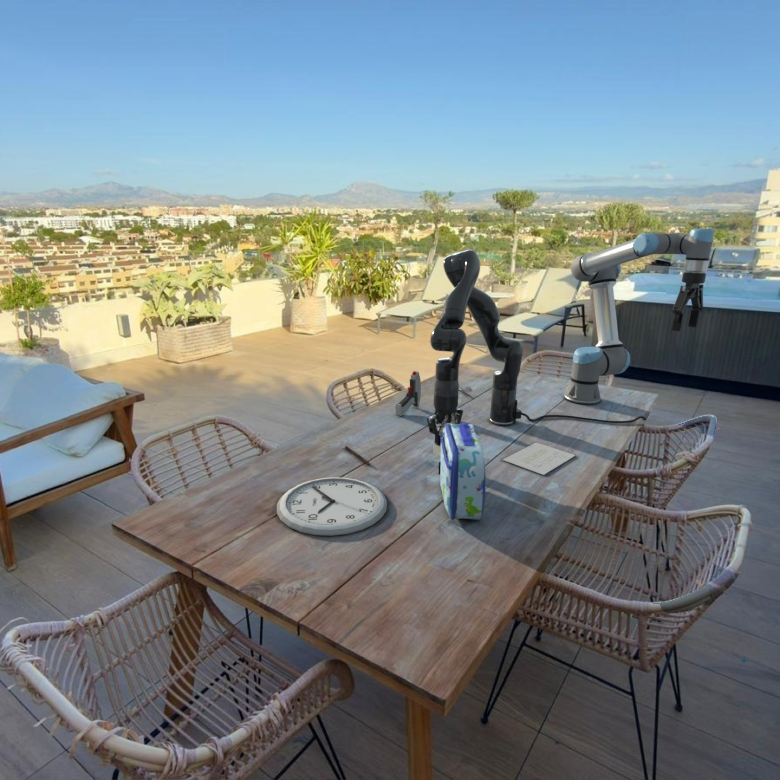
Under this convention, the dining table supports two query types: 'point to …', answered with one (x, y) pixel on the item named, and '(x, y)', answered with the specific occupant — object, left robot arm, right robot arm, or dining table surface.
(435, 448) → the block
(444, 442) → the lunch box
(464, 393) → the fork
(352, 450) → the dark brown rod
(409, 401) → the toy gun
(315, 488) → the wall clock
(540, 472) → the invitation card
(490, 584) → the dining table surface
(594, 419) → the left robot arm
